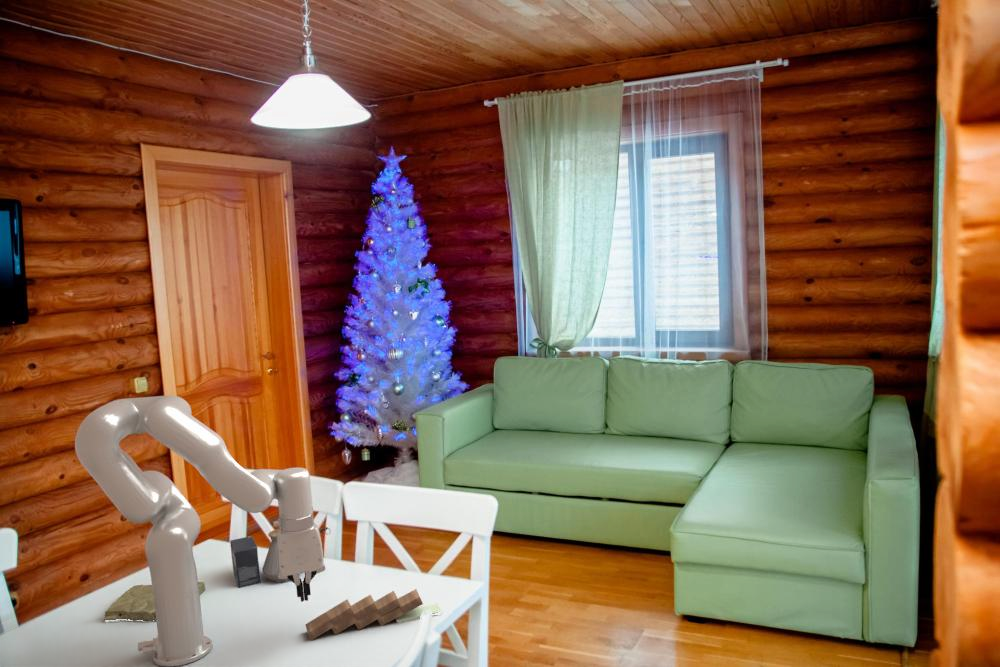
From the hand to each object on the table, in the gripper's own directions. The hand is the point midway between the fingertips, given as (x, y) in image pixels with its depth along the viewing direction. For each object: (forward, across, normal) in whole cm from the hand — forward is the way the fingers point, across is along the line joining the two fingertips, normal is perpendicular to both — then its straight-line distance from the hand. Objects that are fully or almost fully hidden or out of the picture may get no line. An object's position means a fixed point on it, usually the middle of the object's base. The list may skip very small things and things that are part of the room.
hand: (304, 598), depth 185 cm
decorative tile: (+10, -36, +35) cm, 52 cm away
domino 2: (+8, +6, 0) cm, 10 cm away
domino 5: (+10, +21, 0) cm, 23 cm away
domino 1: (+8, 0, 0) cm, 8 cm away
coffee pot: (+9, 0, +37) cm, 38 cm away
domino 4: (+8, +16, 0) cm, 18 cm away
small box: (+9, -14, +43) cm, 46 cm away
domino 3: (+8, +11, 0) cm, 14 cm away
